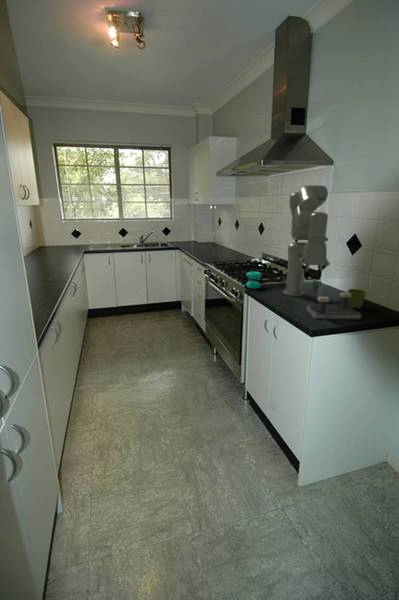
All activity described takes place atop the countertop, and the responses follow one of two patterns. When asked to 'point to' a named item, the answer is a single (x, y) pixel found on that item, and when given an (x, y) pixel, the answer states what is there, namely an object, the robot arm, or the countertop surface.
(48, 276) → the countertop surface
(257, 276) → the teal spool
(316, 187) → the robot arm
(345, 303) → the white striped slider handle
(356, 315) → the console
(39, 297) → the countertop surface
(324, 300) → the fader knob
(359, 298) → the plant pot
